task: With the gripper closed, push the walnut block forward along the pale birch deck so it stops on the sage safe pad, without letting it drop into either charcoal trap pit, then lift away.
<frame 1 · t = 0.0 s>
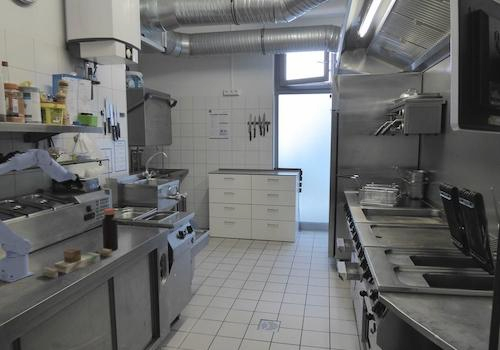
hand: (76, 186, 161), 32 cm above the counter, tool tilted 50°, fingers open, 7 cm apart
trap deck: (81, 264, 153), on the counter
walnut block: (72, 260, 149), point 3 cm above the counter, touching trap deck
bottle: (110, 249, 174), on the counter
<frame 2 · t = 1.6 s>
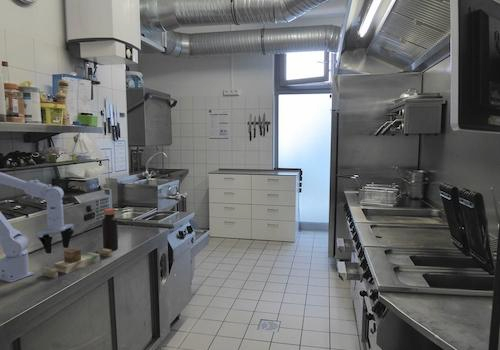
hand: (57, 250, 143), 10 cm above the counter, tool pointing down, fingers open, 7 cm apart
nothing on the counter moved.
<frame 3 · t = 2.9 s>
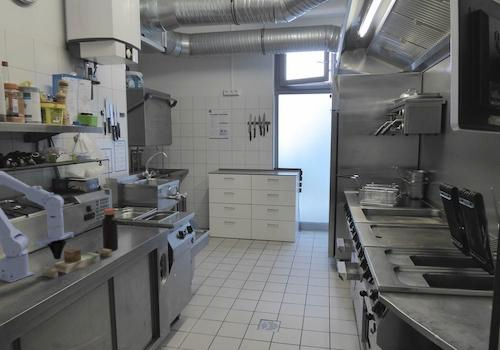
hand: (57, 258, 143), 6 cm above the counter, tool pointing down, fingers closed
nothing on the counter moved.
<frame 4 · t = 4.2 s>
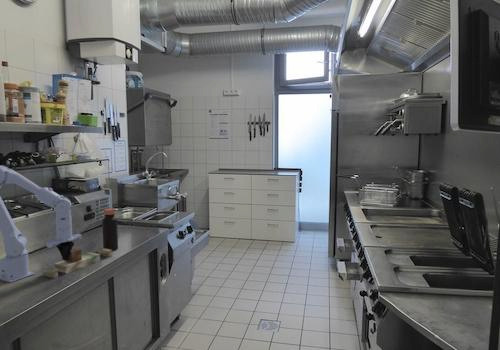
hand: (65, 259, 146), 4 cm above the counter, tool pointing down, fingers closed
walnut block: (73, 260, 150), point 3 cm above the counter, touching gripper
everything else where it was.
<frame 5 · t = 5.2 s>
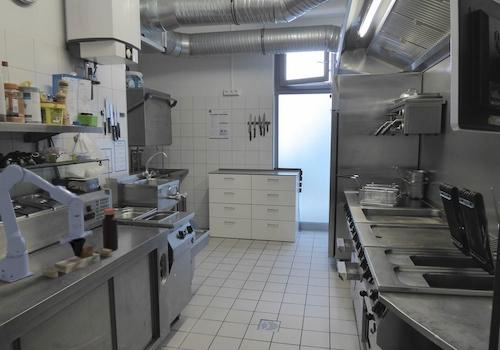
hand: (77, 255, 151), 4 cm above the counter, tool pointing down, fingers closed
walnut block: (85, 256, 155), point 3 cm above the counter, touching gripper, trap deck
everything else where it was.
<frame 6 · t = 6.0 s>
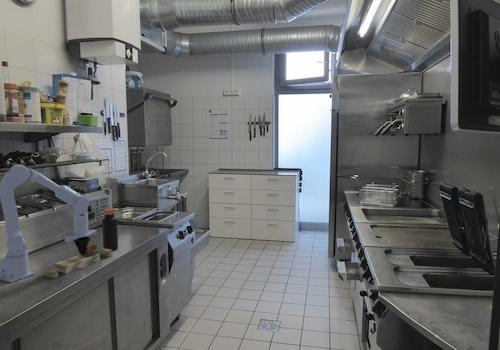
hand: (82, 254, 154), 4 cm above the counter, tool pointing down, fingers closed
walnut block: (89, 254, 157), point 3 cm above the counter, touching gripper, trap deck
everything else where it was.
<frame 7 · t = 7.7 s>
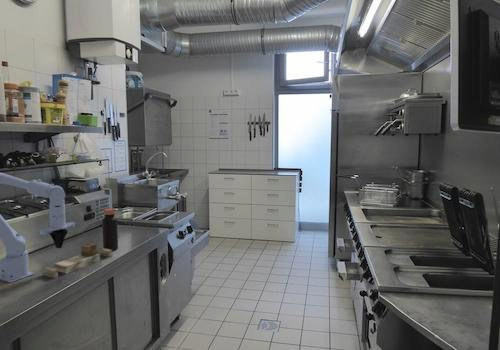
hand: (58, 247, 147), 9 cm above the counter, tool pointing down, fingers closed
walnut block: (89, 254, 157), point 3 cm above the counter, touching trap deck
everything else where it was.
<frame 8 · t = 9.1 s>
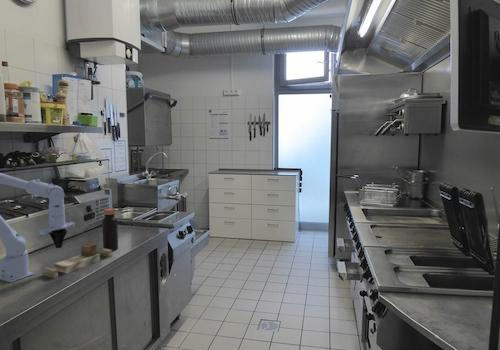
hand: (58, 247, 146), 9 cm above the counter, tool pointing down, fingers closed
nothing on the counter moved.
at the end: walnut block 0.1 cm from the target spot, point 3.0 cm above the counter; walnut block tilted 0°; the gripper is holding nothing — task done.
